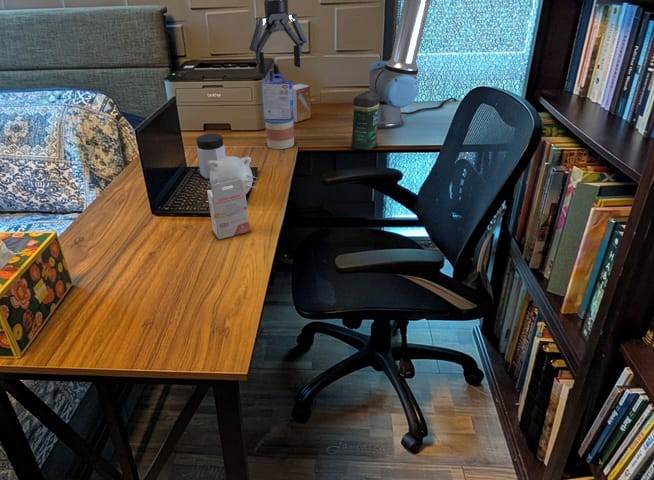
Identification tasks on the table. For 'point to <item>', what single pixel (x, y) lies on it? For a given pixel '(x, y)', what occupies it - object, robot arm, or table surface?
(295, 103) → the small box
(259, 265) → the table surface
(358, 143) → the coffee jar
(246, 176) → the cat head
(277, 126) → the yogurt tub
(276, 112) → the ink cartridge box
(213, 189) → the ink cartridge box
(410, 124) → the table surface
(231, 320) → the table surface
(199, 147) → the jar
